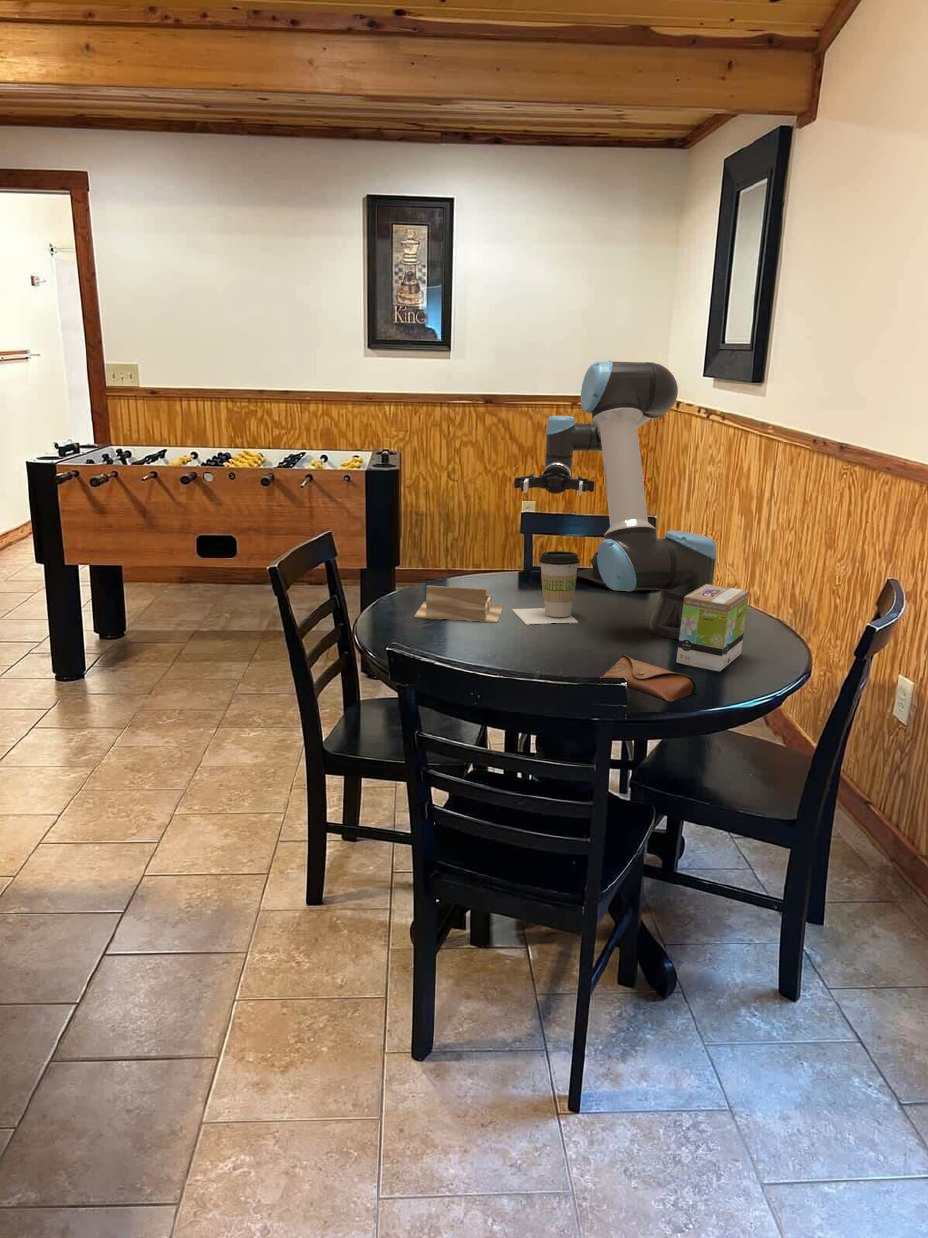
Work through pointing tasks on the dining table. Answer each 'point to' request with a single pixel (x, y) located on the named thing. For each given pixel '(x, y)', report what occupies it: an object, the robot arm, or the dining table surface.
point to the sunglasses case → (652, 679)
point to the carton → (458, 605)
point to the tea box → (712, 627)
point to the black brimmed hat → (592, 572)
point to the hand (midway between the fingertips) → (552, 488)
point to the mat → (540, 617)
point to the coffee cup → (558, 581)
